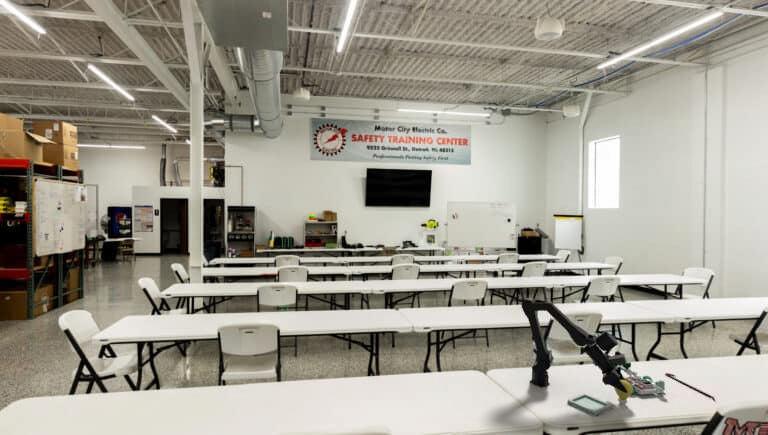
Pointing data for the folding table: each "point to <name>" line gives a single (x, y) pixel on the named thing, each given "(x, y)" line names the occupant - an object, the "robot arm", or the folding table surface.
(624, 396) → the light bulb
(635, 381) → the robot kit
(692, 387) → the crowbar
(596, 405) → the tray
